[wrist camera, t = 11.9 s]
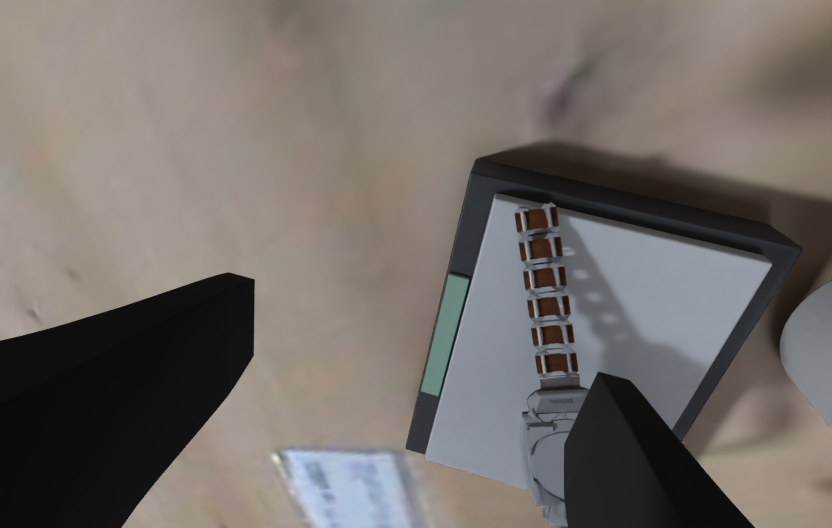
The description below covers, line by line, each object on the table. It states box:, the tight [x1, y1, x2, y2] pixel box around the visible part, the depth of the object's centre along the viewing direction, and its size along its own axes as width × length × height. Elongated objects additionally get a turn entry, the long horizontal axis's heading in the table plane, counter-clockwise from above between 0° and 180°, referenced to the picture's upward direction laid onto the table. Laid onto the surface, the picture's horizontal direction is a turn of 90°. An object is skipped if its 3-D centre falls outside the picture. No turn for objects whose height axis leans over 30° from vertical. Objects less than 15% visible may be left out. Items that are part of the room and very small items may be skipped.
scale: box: [406, 159, 802, 490], centre depth 19 cm, size 14×11×3 cm
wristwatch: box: [515, 202, 589, 528], centre depth 17 cm, size 4×14×5 cm, turn 14°
